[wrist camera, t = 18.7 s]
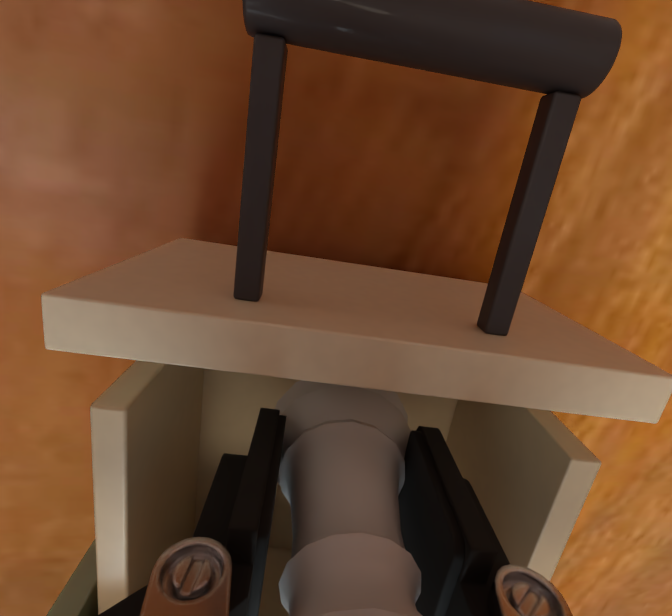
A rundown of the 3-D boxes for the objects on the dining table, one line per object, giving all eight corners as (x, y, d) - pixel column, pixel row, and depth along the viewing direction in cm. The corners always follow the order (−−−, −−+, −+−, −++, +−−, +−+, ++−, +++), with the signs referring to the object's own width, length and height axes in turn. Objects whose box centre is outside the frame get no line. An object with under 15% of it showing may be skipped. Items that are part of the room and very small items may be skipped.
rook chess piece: (360, 496, 14) (408, 877, 6) (247, 444, 13) (143, 813, 5) (432, 400, 13) (595, 722, 5) (313, 337, 12) (299, 609, 4)
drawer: (186, 34, 13) (4, -165, 5) (567, 107, 14) (847, 24, 7) (169, 530, 19) (74, 748, 12) (432, 552, 20) (495, 766, 13)
